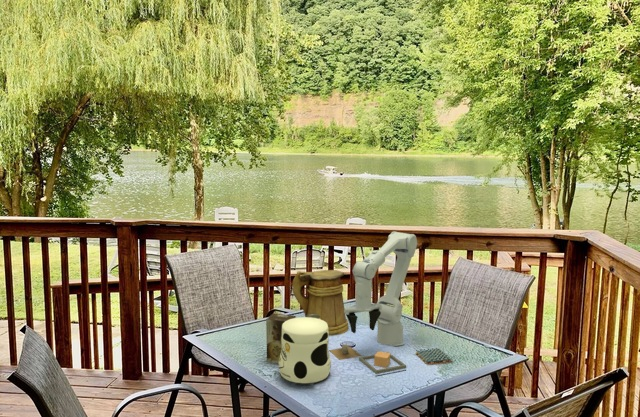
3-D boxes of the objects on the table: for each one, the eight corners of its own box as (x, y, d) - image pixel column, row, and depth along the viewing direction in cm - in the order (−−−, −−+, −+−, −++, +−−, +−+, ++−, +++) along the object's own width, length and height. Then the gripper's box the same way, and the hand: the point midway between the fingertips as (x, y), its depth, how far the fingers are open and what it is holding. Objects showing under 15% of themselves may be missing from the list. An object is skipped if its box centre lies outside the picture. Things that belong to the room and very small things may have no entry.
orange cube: (390, 364, 180) (390, 353, 180) (386, 369, 176) (387, 358, 175) (377, 361, 182) (377, 351, 181) (374, 366, 178) (374, 355, 177)
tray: (387, 357, 187) (388, 352, 187) (406, 370, 176) (406, 365, 176) (358, 362, 182) (358, 357, 182) (375, 376, 171) (375, 371, 171)
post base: (350, 349, 193) (350, 339, 193) (361, 358, 185) (361, 348, 185) (328, 352, 190) (328, 343, 189) (339, 362, 182) (339, 352, 181)
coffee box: (296, 358, 184) (296, 315, 182) (289, 366, 178) (289, 321, 176) (273, 355, 187) (273, 312, 185) (265, 362, 181) (265, 318, 179)
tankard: (351, 337, 205) (352, 277, 201) (292, 338, 203) (292, 277, 200) (345, 321, 223) (346, 265, 219) (291, 322, 221) (291, 266, 218)
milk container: (268, 374, 172) (268, 322, 170) (310, 361, 183) (310, 312, 180) (298, 394, 158) (298, 339, 156) (341, 379, 169) (342, 327, 167)
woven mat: (426, 367, 180) (427, 361, 180) (414, 354, 190) (414, 349, 190) (453, 364, 183) (453, 359, 182) (439, 352, 193) (439, 347, 193)
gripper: (350, 300, 179) (349, 337, 180) (386, 295, 184) (385, 331, 186) (341, 294, 185) (341, 330, 187) (376, 290, 191) (375, 325, 193)
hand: (362, 330), depth 187 cm, fingers open, 7 cm apart
